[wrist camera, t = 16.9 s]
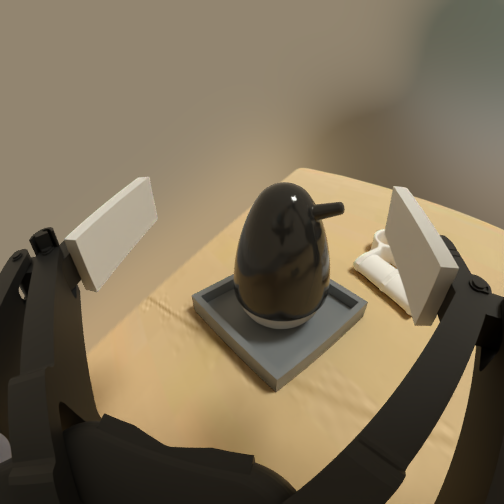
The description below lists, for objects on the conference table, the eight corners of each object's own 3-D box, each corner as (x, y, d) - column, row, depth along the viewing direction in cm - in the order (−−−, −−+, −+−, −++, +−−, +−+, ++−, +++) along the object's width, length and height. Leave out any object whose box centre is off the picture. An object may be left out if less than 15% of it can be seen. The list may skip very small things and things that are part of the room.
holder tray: (280, 263, 42) (281, 249, 40) (362, 316, 32) (367, 302, 31) (194, 310, 34) (191, 295, 33) (275, 392, 25) (277, 379, 23)
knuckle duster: (337, 262, 42) (394, 238, 48) (424, 337, 29) (469, 293, 34) (340, 243, 40) (398, 222, 46) (435, 319, 27) (477, 276, 33)
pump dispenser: (310, 356, 27) (336, 222, 18) (220, 326, 31) (203, 197, 22) (333, 293, 35) (352, 176, 26) (257, 273, 38) (255, 162, 30)
